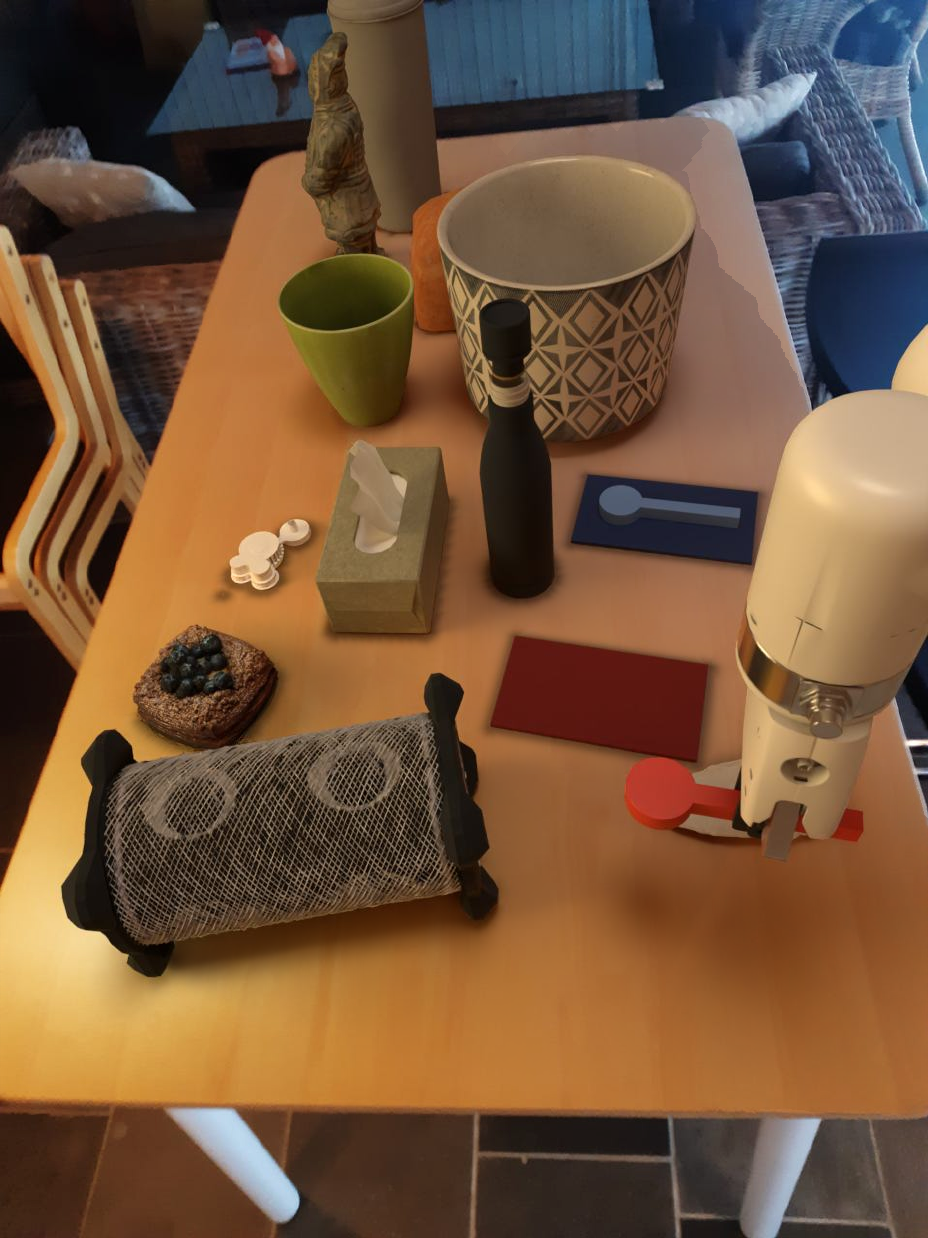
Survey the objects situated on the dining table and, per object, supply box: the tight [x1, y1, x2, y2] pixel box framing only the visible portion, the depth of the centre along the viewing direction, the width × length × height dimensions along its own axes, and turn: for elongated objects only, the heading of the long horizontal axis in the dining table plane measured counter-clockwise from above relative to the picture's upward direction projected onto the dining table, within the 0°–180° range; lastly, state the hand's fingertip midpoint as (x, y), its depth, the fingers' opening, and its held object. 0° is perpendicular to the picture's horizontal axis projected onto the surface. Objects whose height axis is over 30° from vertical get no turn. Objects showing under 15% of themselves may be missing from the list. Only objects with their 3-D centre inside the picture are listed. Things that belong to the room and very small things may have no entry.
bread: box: [409, 186, 466, 333], centre depth 113 cm, size 14×33×16 cm, turn 94°
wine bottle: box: [478, 298, 555, 599], centre depth 77 cm, size 6×6×30 cm
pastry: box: [132, 623, 280, 752], centre depth 81 cm, size 11×12×6 cm
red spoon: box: [624, 756, 865, 843], centre depth 55 cm, size 14×4×2 cm, turn 76°
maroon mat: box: [489, 635, 709, 763], centre depth 79 cm, size 18×10×1 cm, turn 75°
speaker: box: [60, 672, 500, 978], centre depth 66 cm, size 15×28×15 cm, turn 98°
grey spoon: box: [599, 485, 741, 529], centre depth 91 cm, size 14×4×2 cm, turn 75°
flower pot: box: [277, 254, 415, 428], centre depth 102 cm, size 15×15×16 cm
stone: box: [677, 758, 808, 841], centre depth 71 cm, size 8×14×2 cm, turn 95°
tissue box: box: [314, 438, 450, 634], centre depth 86 cm, size 19×10×16 cm, turn 175°
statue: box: [301, 32, 387, 257], centre depth 116 cm, size 11×9×30 cm
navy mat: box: [570, 473, 759, 566], centre depth 92 cm, size 18×10×1 cm, turn 75°
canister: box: [326, 0, 443, 233], centre depth 122 cm, size 13×13×35 cm
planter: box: [437, 154, 698, 443], centre depth 97 cm, size 26×26×22 cm
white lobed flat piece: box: [216, 518, 312, 596], centre depth 93 cm, size 9×9×2 cm
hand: (758, 813), depth 55 cm, fingers closed on red spoon, 1 cm apart
